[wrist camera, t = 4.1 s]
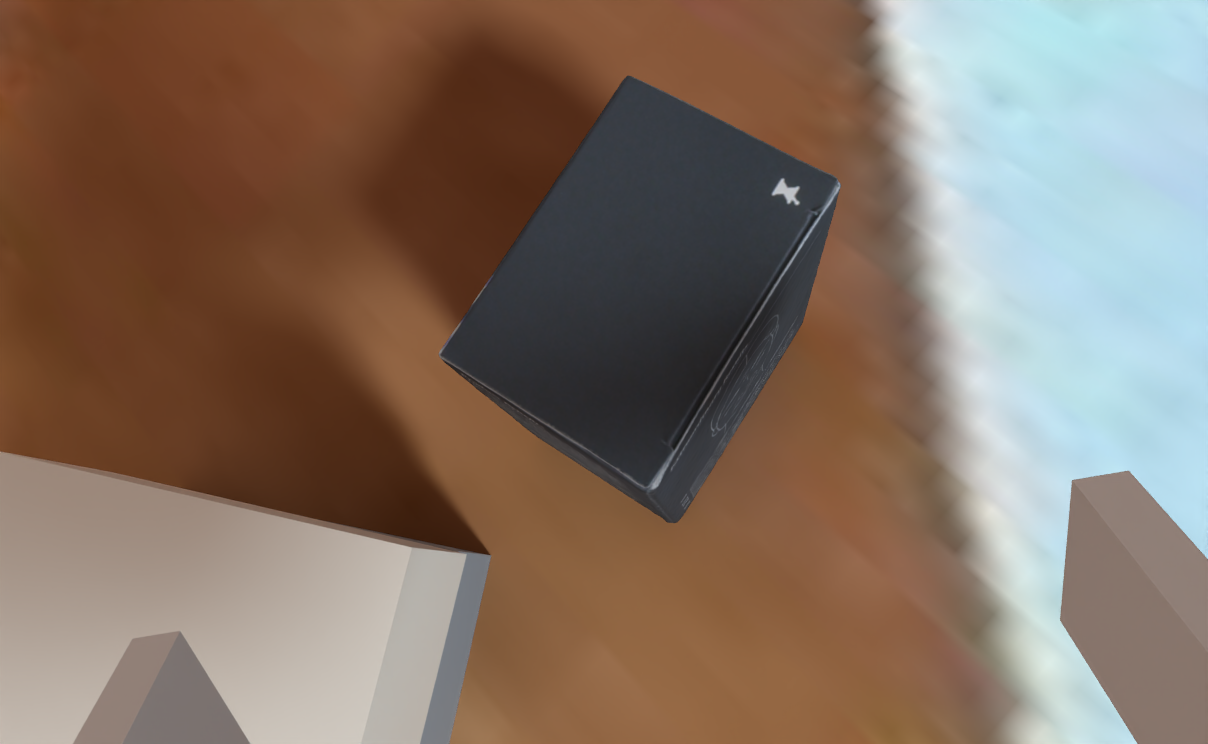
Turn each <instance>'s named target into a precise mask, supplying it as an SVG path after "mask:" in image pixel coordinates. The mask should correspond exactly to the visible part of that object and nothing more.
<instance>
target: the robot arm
mask: <svg viewBox="0 0 1208 744" xmlns="http://www.w3.org/2000/svg"><path fill="white" fill-rule="evenodd" d="M1060 621H1061V622H1062V624H1063V626H1064V627H1065V629H1066V630H1067V632H1068V633H1069V635H1070V637H1071V638H1072V640H1073V641H1074V643H1075V645H1076V646H1077V648H1078V649H1079V651H1080V653H1081V654H1082V656H1083V657H1084V659H1085V661H1086V662H1087V664H1088V665H1089V667H1090V669H1091V670H1092V672H1093V673H1094V675H1095V676H1096V678H1097V680H1098V681H1099V683H1100V684H1101V686H1102V688H1103V689H1104V691H1105V692H1106V694H1107V696H1108V697H1109V699H1110V700H1111V702H1112V704H1113V705H1114V707H1115V708H1116V710H1117V712H1118V713H1119V715H1120V716H1121V718H1122V719H1123V721H1124V723H1125V724H1126V726H1127V727H1128V729H1129V731H1130V732H1131V734H1132V735H1133V737H1134V739H1135V740H1136V742H1137V743H1138V744H1208V559H1207V558H1206V557H1205V556H1204V555H1203V553H1202V552H1201V551H1200V550H1199V549H1198V548H1197V547H1196V546H1195V544H1194V543H1193V542H1192V541H1191V540H1190V539H1189V538H1188V537H1187V535H1186V534H1185V533H1184V532H1183V531H1182V530H1181V529H1180V528H1179V527H1178V525H1177V524H1176V523H1175V522H1174V521H1173V520H1172V519H1171V518H1170V516H1169V515H1168V514H1167V513H1166V512H1165V511H1164V510H1163V509H1162V507H1161V506H1160V505H1159V504H1158V503H1157V502H1156V501H1155V500H1154V498H1153V497H1152V496H1151V495H1150V494H1149V493H1148V492H1147V491H1146V489H1145V488H1144V487H1143V486H1142V485H1141V484H1140V483H1139V482H1138V480H1137V479H1136V478H1135V477H1134V476H1133V475H1132V474H1131V473H1130V472H1129V471H1124V472H1118V473H1112V474H1106V475H1100V476H1094V477H1089V478H1083V479H1077V480H1072V488H1071V500H1070V511H1069V523H1068V535H1067V546H1066V558H1065V569H1064V581H1063V593H1062V604H1061V616H1060ZM73 744H250V742H249V741H248V739H247V737H246V736H245V734H244V733H243V731H242V729H241V728H240V726H239V725H238V723H237V721H236V720H235V718H234V716H233V715H232V713H231V712H230V710H229V708H228V707H227V705H226V704H225V702H224V700H223V699H222V697H221V696H220V694H219V692H218V691H217V689H216V688H215V686H214V684H213V683H212V681H211V679H210V678H209V676H208V675H207V673H206V671H205V670H204V668H203V667H202V665H201V663H200V662H199V660H198V659H197V657H196V655H195V654H194V652H193V650H192V649H191V647H190V646H189V644H188V642H187V641H186V639H185V638H184V636H183V634H182V633H181V631H175V632H169V633H163V634H157V635H151V636H145V637H139V638H133V639H132V640H131V642H130V644H129V645H128V647H127V649H126V651H125V652H124V654H123V656H122V658H121V660H120V661H119V663H118V665H117V667H116V668H115V670H114V672H113V674H112V675H111V677H110V679H109V681H108V682H107V684H106V686H105V688H104V690H103V691H102V693H101V695H100V697H99V698H98V700H97V702H96V704H95V705H94V707H93V709H92V711H91V712H90V714H89V716H88V718H87V720H86V721H85V723H84V725H83V727H82V728H81V730H80V732H79V734H78V735H77V737H76V739H75V741H74V742H73Z"/></svg>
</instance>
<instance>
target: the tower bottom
mask: <svg viewBox="0 0 1208 744" xmlns="http://www.w3.org/2000/svg"><path fill="white" fill-rule="evenodd" d="M317 520H318V519H317ZM322 521H323V520H322ZM326 522H328V521H326ZM330 523H333V522H330ZM335 524H337V523H335ZM339 525H342V524H339ZM343 526H347V525H343ZM348 527H352V526H348ZM352 528H356V529H361V528H357V527H352ZM361 530H365V531H369V532H373V533H378V534H382V535H386V536H391V537H395V538H399V539H404V540H408V541H412V542H417V543H421V544H425V545H430V546H434V547H438V548H443V549H447V550H451V551H456V552H460V553H464V554H467V556H466V560H465V564H464V568H463V572H462V576H461V580H460V584H459V588H458V592H457V596H456V600H455V604H454V608H453V612H452V616H451V620H450V625H449V629H448V633H447V637H446V641H445V645H444V649H443V653H442V657H441V661H440V665H439V669H438V673H437V677H436V681H435V685H434V689H433V693H432V697H431V701H430V705H429V709H428V713H427V717H426V721H425V726H424V730H423V734H422V738H421V742H420V744H449V742H450V738H451V733H452V729H453V724H454V720H455V715H456V711H457V706H458V702H459V697H460V693H461V688H462V684H463V679H464V675H465V671H466V666H467V662H468V657H469V653H470V648H471V644H472V639H473V635H474V630H475V626H476V621H477V617H478V612H479V608H480V603H481V599H482V594H483V590H484V585H485V581H486V576H487V572H488V567H489V563H490V558H491V555H486V554H481V553H477V552H472V551H467V550H462V549H457V548H453V547H448V546H443V545H438V544H433V543H429V542H424V541H419V540H414V539H409V538H405V537H400V536H395V535H390V534H385V533H381V532H376V531H371V530H366V529H361Z"/></svg>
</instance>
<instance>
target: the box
mask: <svg viewBox="0 0 1208 744" xmlns="http://www.w3.org/2000/svg"><path fill="white" fill-rule="evenodd" d="M840 187H841V184H840V183H839V182H838V180H837V178H836V177H834V176H833V175H831V174H829V173H826V172H824V171H822V170H820V169H818V168H815V167H813V166H811V165H809V164H807V163H805V162H803V161H801V160H799V159H797V158H795V157H793V156H791V155H789V154H787V153H785V152H783V151H781V150H779V149H777V148H775V147H773V146H771V145H769V144H767V143H765V142H763V141H761V140H759V139H757V138H755V137H753V136H751V135H749V134H747V133H745V132H743V131H741V130H740V129H738V128H736V127H734V126H732V125H730V124H728V123H726V122H724V121H722V120H720V119H718V118H716V117H714V116H712V115H710V114H708V113H706V112H704V111H702V110H700V109H698V108H696V107H694V106H693V105H691V104H689V103H687V102H685V101H683V100H681V99H678V98H676V97H674V96H672V95H670V94H668V93H666V92H664V91H662V90H660V89H658V88H656V87H653V86H651V85H649V84H647V83H645V82H643V81H640V80H638V79H636V78H634V77H632V76H627V77H626V78H625V79H624V80H623V81H622V83H621V84H620V86H619V87H618V89H617V90H616V92H615V93H614V95H613V96H612V98H611V99H610V101H609V102H608V104H607V105H606V107H605V108H604V110H603V111H602V113H601V114H600V116H599V117H598V119H597V120H596V122H595V123H594V125H593V126H592V128H591V129H590V131H589V132H588V134H587V135H586V137H585V138H584V139H583V141H582V142H581V144H580V146H579V147H578V149H577V150H576V152H575V153H574V155H573V156H572V158H571V159H570V161H569V162H568V164H567V165H566V167H565V168H564V169H563V171H562V172H561V174H560V175H559V177H558V178H557V180H556V181H555V183H554V184H553V186H552V187H551V189H550V190H549V192H548V193H547V195H546V196H545V198H544V199H543V200H542V202H541V203H540V205H539V206H538V208H537V209H536V211H535V212H534V214H533V215H532V217H531V218H530V220H529V221H528V223H527V224H526V226H525V227H524V229H523V230H522V231H521V233H520V234H519V236H518V237H517V239H516V241H515V242H514V244H513V245H512V246H511V248H510V249H509V251H508V252H507V254H506V255H505V257H504V258H503V260H502V261H501V263H500V264H499V266H498V267H497V268H496V270H495V271H494V273H493V274H492V276H491V277H490V279H489V280H488V282H487V283H486V285H485V286H484V288H483V289H482V291H481V292H480V294H479V295H478V297H477V298H476V300H475V301H474V302H473V304H472V305H471V307H470V309H469V311H468V312H467V313H466V315H465V316H464V318H463V319H462V320H461V322H460V323H459V325H458V326H457V327H456V329H455V330H454V332H453V333H452V335H451V336H450V338H449V339H448V341H447V342H446V343H445V345H444V346H443V348H442V349H441V350H440V352H439V356H440V358H441V359H442V360H443V361H444V362H445V363H446V364H447V365H449V366H450V367H451V368H452V369H454V370H455V371H456V372H457V373H458V374H459V375H461V376H462V377H463V378H465V379H466V380H467V381H468V382H469V383H471V384H472V385H473V386H474V387H475V388H476V389H478V390H479V391H480V392H481V393H483V394H484V395H485V396H487V397H488V398H489V399H490V400H492V401H493V402H494V403H496V404H497V405H498V406H499V407H500V408H502V409H503V410H504V411H506V412H507V413H508V414H509V415H511V416H512V417H513V418H514V419H515V420H516V421H518V422H519V423H520V424H522V425H523V426H524V427H525V428H527V429H528V430H529V431H530V432H532V433H533V434H534V435H536V436H537V437H538V438H540V439H542V440H543V441H544V442H546V443H548V444H549V445H551V446H552V447H554V448H555V449H557V450H558V451H560V452H561V453H563V454H565V455H566V456H568V457H569V458H571V459H572V460H574V461H575V462H577V463H578V464H580V465H581V466H583V467H584V468H586V469H587V470H589V471H591V472H592V473H594V474H595V475H597V476H598V477H600V478H601V479H603V480H604V481H606V482H607V483H609V484H610V485H612V486H614V487H615V488H617V489H618V490H620V491H621V492H623V493H624V494H626V495H627V496H629V497H630V498H632V499H634V500H635V501H637V502H638V503H640V504H641V505H643V506H644V507H646V508H648V509H649V510H651V511H652V512H654V513H655V514H656V515H658V516H660V517H662V518H663V519H664V520H665V521H666V522H669V523H676V522H678V521H679V520H680V519H681V517H682V516H683V515H684V513H685V512H686V510H687V508H688V507H689V505H690V504H691V502H692V501H693V499H694V497H695V496H696V494H697V493H698V491H699V489H700V487H701V486H702V485H703V483H704V482H705V480H706V478H707V477H708V475H709V474H710V472H711V471H712V469H713V467H714V466H715V464H716V462H717V461H718V459H719V458H720V456H721V455H722V453H723V451H724V449H725V448H726V446H727V445H728V443H729V441H730V440H731V438H732V436H733V435H734V433H735V432H736V430H737V428H738V427H739V425H740V424H741V422H742V420H743V419H744V417H745V416H746V414H747V412H748V411H749V409H750V408H751V406H752V405H753V403H754V401H755V400H756V398H757V397H758V395H759V393H760V392H761V390H762V388H763V387H764V385H765V383H766V382H767V380H768V379H769V377H770V375H771V373H772V372H773V370H774V369H775V367H776V366H777V364H778V362H779V360H780V359H781V357H782V356H783V354H784V353H785V351H786V349H787V348H788V346H789V345H790V343H791V341H792V340H793V338H794V336H795V335H796V333H797V331H798V330H799V328H800V326H801V325H802V323H803V319H804V316H805V311H806V308H807V305H808V301H809V298H810V294H811V290H812V287H813V283H814V280H815V277H816V273H817V269H818V266H819V263H820V259H821V255H822V252H823V249H824V245H825V241H826V238H827V236H828V230H829V227H830V224H831V221H832V217H833V213H834V210H835V207H836V201H837V197H838V194H839V190H840Z"/></svg>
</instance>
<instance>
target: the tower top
mask: <svg viewBox="0 0 1208 744" xmlns="http://www.w3.org/2000/svg"><path fill="white" fill-rule="evenodd" d="M466 556H467V554H464V553H460V552H456V551H451V550H447V549H443V548H438V547H434V546H430V545H425V544H421V543H417V542H412V541H408V540H404V539H399V538H395V537H391V536H386V535H382V534H378V533H373V532H369V531H365V530H361V529H356V528H352V527H348V526H343V525H339V524H335V523H330V522H326V521H322V520H317V519H313V518H309V517H304V516H300V515H296V514H291V513H287V512H283V511H278V510H274V509H270V508H265V507H261V506H257V505H252V504H248V503H244V502H239V501H235V500H231V499H226V498H222V497H218V496H213V495H209V494H205V493H200V492H196V491H192V490H187V489H183V488H179V487H174V486H170V485H166V484H161V483H157V482H153V481H149V480H144V479H140V478H136V477H131V476H127V475H123V474H118V473H114V472H109V471H104V470H98V469H93V468H87V467H82V466H77V465H71V464H66V463H60V462H55V461H50V460H44V459H39V458H33V457H28V456H23V455H17V454H12V453H6V452H1V451H0V744H73V742H74V741H75V739H76V737H77V735H78V734H79V732H80V730H81V728H82V727H83V725H84V723H85V721H86V720H87V718H88V716H89V714H90V712H91V711H92V709H93V707H94V705H95V704H96V702H97V700H98V698H99V697H100V695H101V693H102V691H103V690H104V688H105V686H106V684H107V682H108V681H109V679H110V677H111V675H112V674H113V672H114V670H115V668H116V667H117V665H118V663H119V661H120V660H121V658H122V656H123V654H124V652H125V651H126V649H127V647H128V645H129V644H130V642H131V640H132V639H133V638H139V637H145V636H151V635H157V634H163V633H169V632H175V631H181V633H182V634H183V636H184V638H185V639H186V641H187V642H188V644H189V646H190V647H191V649H192V650H193V652H194V654H195V655H196V657H197V659H198V660H199V662H200V663H201V665H202V667H203V668H204V670H205V671H206V673H207V675H208V676H209V678H210V679H211V681H212V683H213V684H214V686H215V688H216V689H217V691H218V692H219V694H220V696H221V697H222V699H223V700H224V702H225V704H226V705H227V707H228V708H229V710H230V712H231V713H232V715H233V716H234V718H235V720H236V721H237V723H238V725H239V726H240V728H241V729H242V731H243V733H244V734H245V736H246V737H247V739H248V741H249V742H250V744H420V742H421V738H422V734H423V730H424V726H425V721H426V717H427V713H428V709H429V705H430V701H431V697H432V693H433V689H434V685H435V681H436V677H437V673H438V669H439V665H440V661H441V657H442V653H443V649H444V645H445V641H446V637H447V633H448V629H449V625H450V620H451V616H452V612H453V608H454V604H455V600H456V596H457V592H458V588H459V584H460V580H461V576H462V572H463V568H464V564H465V560H466Z"/></svg>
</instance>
